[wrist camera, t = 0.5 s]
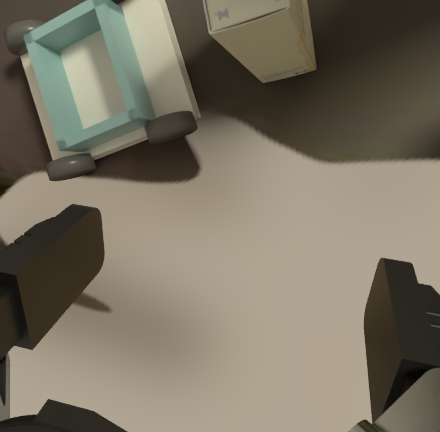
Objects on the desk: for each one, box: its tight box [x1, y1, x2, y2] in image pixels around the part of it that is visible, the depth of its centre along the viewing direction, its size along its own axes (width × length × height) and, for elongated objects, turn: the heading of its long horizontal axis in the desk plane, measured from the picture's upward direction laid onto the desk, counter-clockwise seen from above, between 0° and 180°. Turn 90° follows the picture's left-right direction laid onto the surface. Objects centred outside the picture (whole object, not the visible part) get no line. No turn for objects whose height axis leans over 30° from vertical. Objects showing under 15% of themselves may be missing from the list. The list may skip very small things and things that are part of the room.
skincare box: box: [203, 0, 316, 83], centre depth 26 cm, size 6×4×12 cm
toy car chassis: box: [4, 0, 201, 181], centre depth 34 cm, size 14×13×4 cm
